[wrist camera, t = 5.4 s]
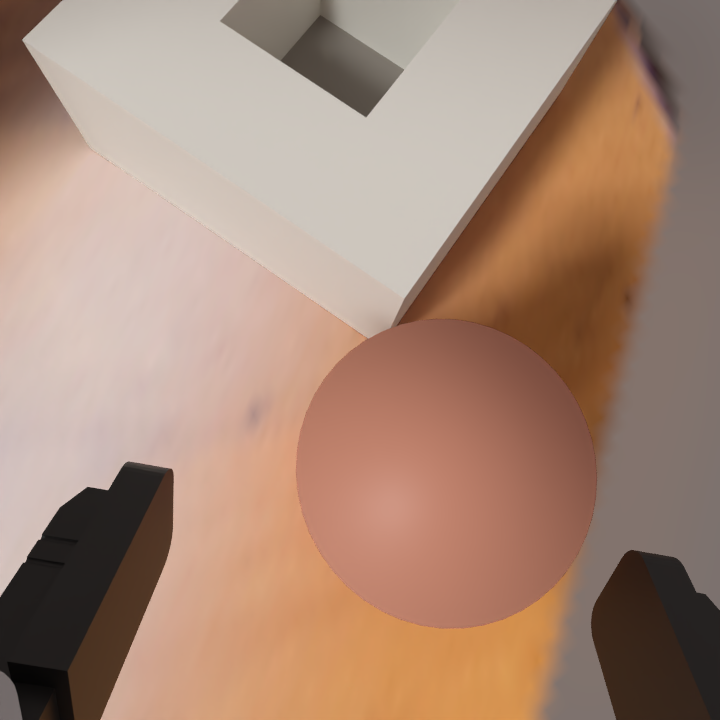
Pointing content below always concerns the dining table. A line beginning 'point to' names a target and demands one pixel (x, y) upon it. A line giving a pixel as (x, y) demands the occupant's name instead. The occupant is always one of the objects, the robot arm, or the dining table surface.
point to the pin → (446, 473)
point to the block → (318, 121)
